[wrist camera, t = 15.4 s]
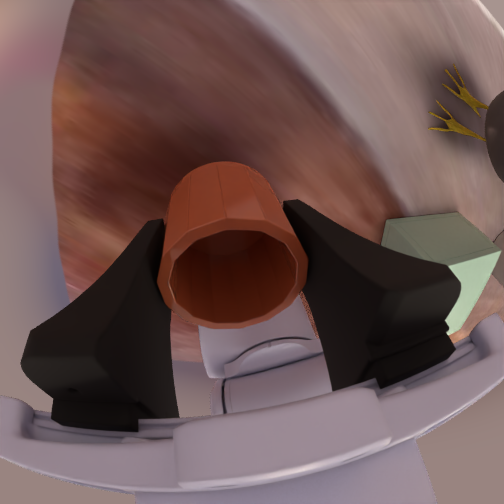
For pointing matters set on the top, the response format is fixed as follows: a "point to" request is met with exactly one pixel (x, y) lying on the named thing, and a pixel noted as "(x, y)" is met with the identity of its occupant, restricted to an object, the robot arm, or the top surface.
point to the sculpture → (496, 125)
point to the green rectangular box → (447, 253)
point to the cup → (499, 260)
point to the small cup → (228, 249)
